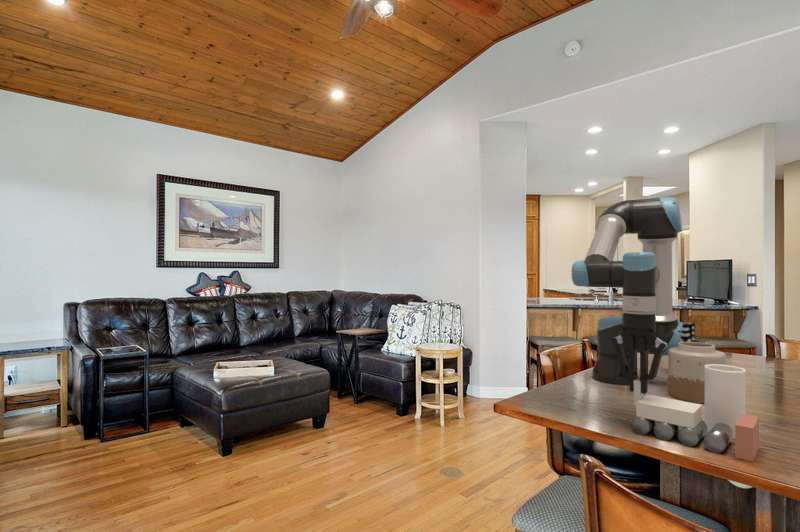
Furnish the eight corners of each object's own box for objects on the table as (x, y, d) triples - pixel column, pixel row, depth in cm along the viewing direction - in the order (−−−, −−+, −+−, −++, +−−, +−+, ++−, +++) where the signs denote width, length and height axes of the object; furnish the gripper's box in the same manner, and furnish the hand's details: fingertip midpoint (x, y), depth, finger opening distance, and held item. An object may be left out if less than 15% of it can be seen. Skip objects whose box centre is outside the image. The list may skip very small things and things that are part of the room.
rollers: (631, 432, 110) (631, 416, 111) (643, 422, 118) (643, 407, 118) (725, 455, 97) (725, 436, 97) (733, 442, 104) (733, 425, 104)
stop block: (735, 457, 96) (735, 424, 96) (742, 444, 103) (742, 414, 103) (752, 461, 94) (752, 428, 94) (759, 448, 101) (759, 417, 101)
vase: (732, 397, 140) (732, 344, 140) (717, 408, 130) (717, 350, 131) (677, 388, 152) (677, 338, 152) (660, 396, 142) (660, 343, 142)
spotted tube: (686, 379, 164) (686, 324, 164) (664, 374, 171) (664, 322, 172) (699, 377, 168) (699, 323, 168) (677, 372, 175) (677, 321, 175)
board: (636, 416, 110) (636, 402, 110) (647, 408, 117) (647, 394, 117) (693, 428, 102) (693, 413, 102) (702, 419, 108) (702, 404, 108)
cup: (696, 426, 115) (696, 364, 115) (726, 426, 115) (726, 363, 115) (722, 439, 106) (722, 371, 107) (754, 438, 107) (754, 371, 107)
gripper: (606, 311, 116) (606, 403, 116) (663, 315, 107) (663, 414, 107) (617, 310, 121) (616, 397, 121) (671, 313, 112) (671, 408, 112)
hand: (638, 405), depth 114 cm, fingers closed
